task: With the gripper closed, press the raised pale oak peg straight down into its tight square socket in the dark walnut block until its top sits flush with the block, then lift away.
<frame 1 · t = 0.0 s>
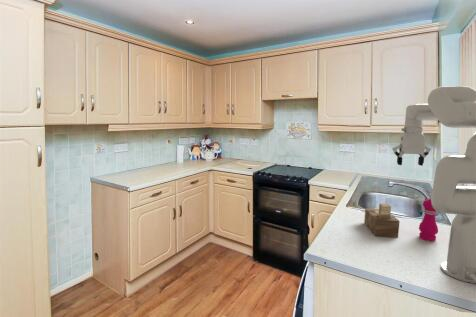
hand: (409, 165, 137), 31 cm above the countertop, tool pointing down, fingers open, 9 cm apart
pepper mill: (427, 238, 125), on the countertop
peg: (384, 212, 130), point 10 cm above the countertop, slide at 6.0 cm
socket block: (380, 229, 135), on the countertop
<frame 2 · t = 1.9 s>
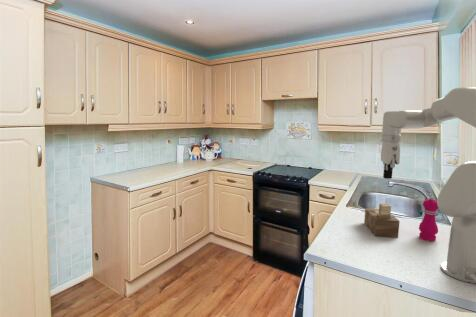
hand: (387, 178, 127), 27 cm above the countertop, tool pointing down, fingers closed
nothing on the countertop moved.
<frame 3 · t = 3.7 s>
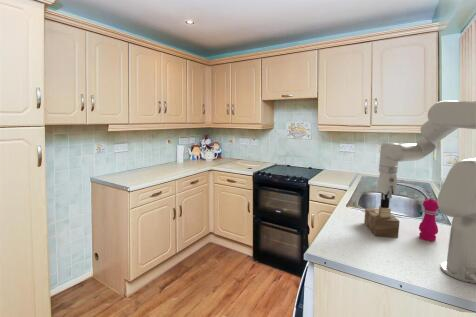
hand: (384, 207, 130), 13 cm above the countertop, tool pointing down, fingers closed
peg: (384, 215, 130), point 9 cm above the countertop, slide at 4.8 cm, touching gripper
everything else where it was.
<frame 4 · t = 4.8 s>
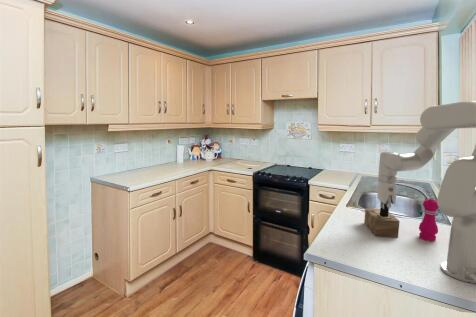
hand: (383, 216, 130), 8 cm above the countertop, tool pointing down, fingers closed
peg: (383, 224, 131), point 4 cm above the countertop, slide at 0.4 cm, touching gripper
everything else where it was.
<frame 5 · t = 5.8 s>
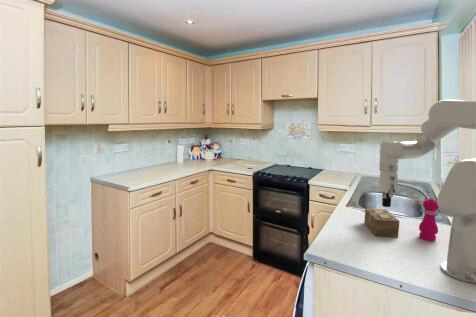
hand: (386, 206, 129), 13 cm above the countertop, tool pointing down, fingers closed
peg: (383, 224, 131), point 4 cm above the countertop, slide at 0.4 cm
everything else where it was.
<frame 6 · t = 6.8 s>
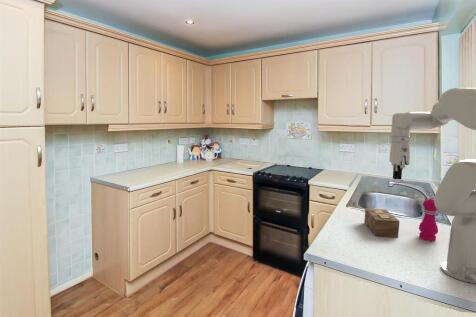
hand: (396, 178, 129), 26 cm above the countertop, tool pointing down, fingers closed
nothing on the countertop moved.
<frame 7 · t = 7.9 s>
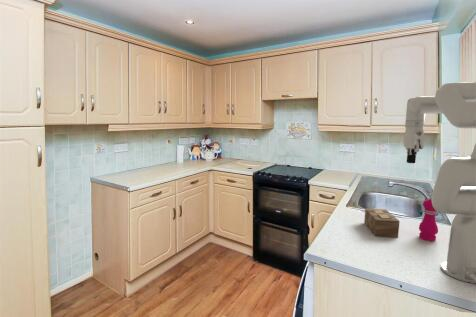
hand: (410, 162, 132), 33 cm above the countertop, tool pointing down, fingers closed
nothing on the countertop moved.
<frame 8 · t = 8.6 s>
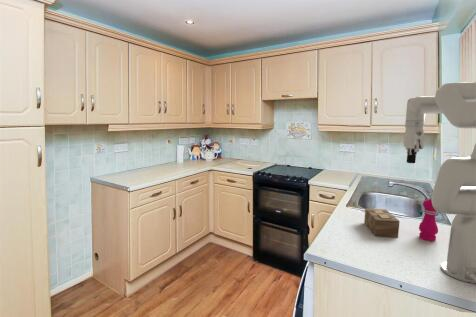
hand: (410, 162, 132), 33 cm above the countertop, tool pointing down, fingers closed
nothing on the countertop moved.
at the end: peg slide at 0.4 cm; peg touching nothing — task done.
